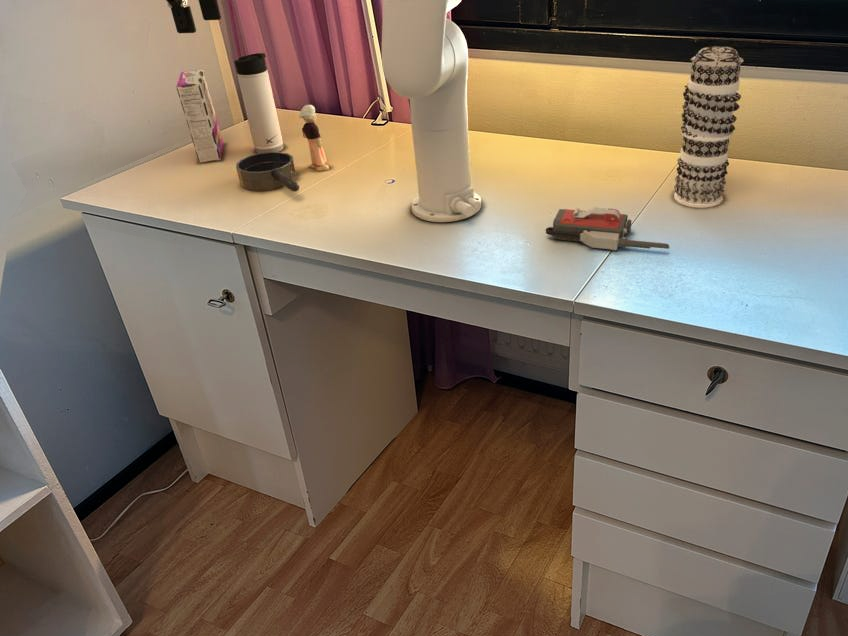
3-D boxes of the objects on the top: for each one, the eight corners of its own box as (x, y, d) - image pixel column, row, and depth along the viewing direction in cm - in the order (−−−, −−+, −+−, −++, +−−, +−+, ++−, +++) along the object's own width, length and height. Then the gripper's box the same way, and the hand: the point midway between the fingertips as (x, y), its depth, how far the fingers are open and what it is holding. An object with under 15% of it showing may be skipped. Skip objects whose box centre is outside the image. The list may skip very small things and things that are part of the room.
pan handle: (301, 191, 136) (299, 182, 135) (292, 194, 135) (290, 184, 134) (280, 176, 143) (278, 167, 142) (271, 178, 142) (269, 170, 141)
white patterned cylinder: (661, 200, 130) (676, 52, 116) (688, 183, 136) (706, 40, 121) (708, 213, 125) (730, 60, 110) (734, 195, 130) (758, 47, 116)
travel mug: (278, 155, 158) (257, 58, 147) (250, 154, 160) (227, 58, 148) (290, 144, 163) (270, 50, 152) (262, 144, 165) (241, 50, 153)
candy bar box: (201, 146, 165) (180, 71, 156) (224, 143, 166) (204, 68, 156) (197, 164, 156) (174, 85, 147) (221, 161, 157) (200, 82, 147)
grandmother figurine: (337, 167, 151) (326, 105, 143) (322, 173, 148) (310, 111, 141) (315, 159, 155) (303, 99, 147) (300, 165, 153) (287, 104, 145)
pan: (305, 181, 146) (302, 162, 143) (253, 197, 141) (248, 177, 138) (283, 166, 153) (279, 147, 151) (232, 180, 148) (227, 161, 146)
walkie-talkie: (541, 245, 119) (667, 258, 113) (542, 220, 116) (670, 232, 111) (554, 222, 125) (673, 232, 120) (554, 197, 123) (676, 208, 117)
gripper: (165, -85, 109) (197, 37, 119) (215, -97, 122) (241, 14, 132) (119, -83, 110) (155, 38, 120) (174, -94, 123) (202, 15, 134)
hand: (200, 26), depth 126 cm, fingers open, 9 cm apart
